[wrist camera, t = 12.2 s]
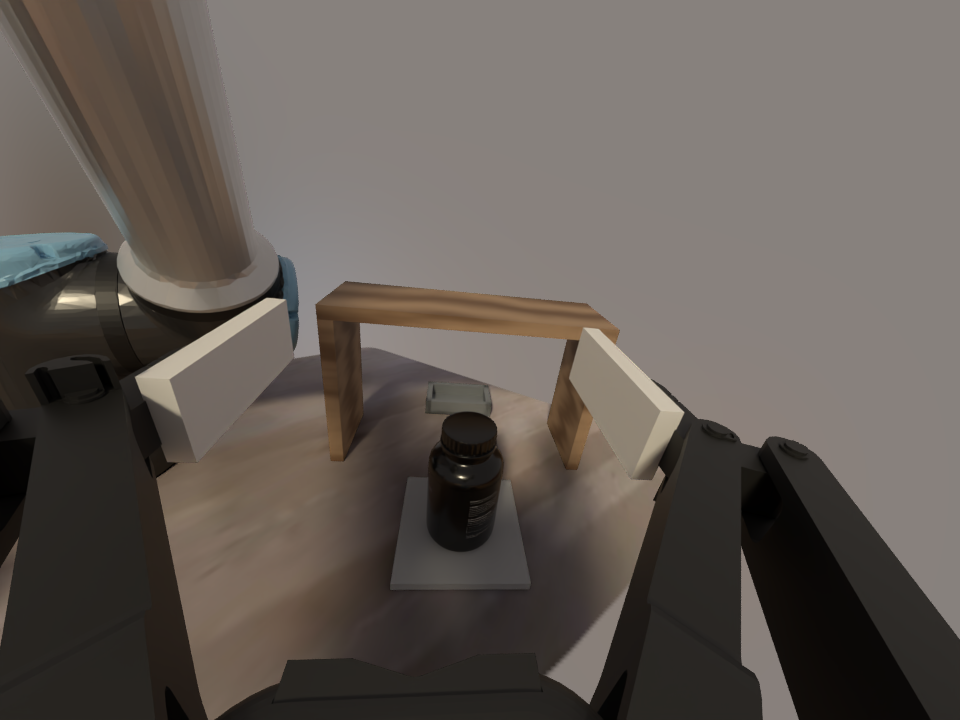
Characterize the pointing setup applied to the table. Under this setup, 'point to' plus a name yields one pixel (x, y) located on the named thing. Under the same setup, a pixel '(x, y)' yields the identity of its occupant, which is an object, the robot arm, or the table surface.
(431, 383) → the trap tray
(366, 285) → the bridge
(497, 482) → the supplement bottle
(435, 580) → the coaster
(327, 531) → the table surface
